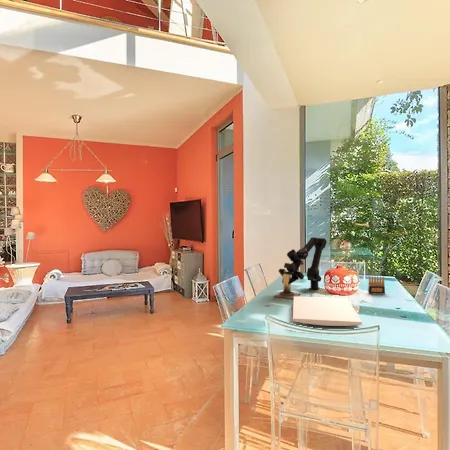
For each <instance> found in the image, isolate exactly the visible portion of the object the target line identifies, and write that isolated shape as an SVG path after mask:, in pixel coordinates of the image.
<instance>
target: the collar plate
mask: <svg viewBox="0 0 450 450" xmlns="http://www.w3.org/2000/svg"><path fill="white" fill-rule="evenodd" d="M300 295H301V293H296V292H294V291H291V293H290V294H285V293H283V290H282V291H280V292H278V293H276V294H275V295H273V298H276V297H278V298H279V299H284V300H285V299H287V300H292V301H294V296H300Z"/></svg>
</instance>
